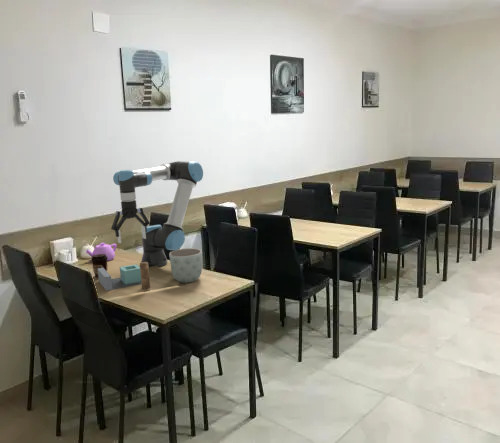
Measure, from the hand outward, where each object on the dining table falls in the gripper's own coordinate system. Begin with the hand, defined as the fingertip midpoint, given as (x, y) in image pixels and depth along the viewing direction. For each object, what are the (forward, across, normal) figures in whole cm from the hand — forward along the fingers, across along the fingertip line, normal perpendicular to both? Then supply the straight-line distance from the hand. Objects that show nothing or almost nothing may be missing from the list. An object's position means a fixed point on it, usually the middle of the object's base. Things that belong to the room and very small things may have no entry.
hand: (132, 240), depth 253 cm
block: (+20, +4, +3) cm, 21 cm away
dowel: (+22, +3, +19) cm, 29 cm away
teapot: (+22, -2, -55) cm, 60 cm away
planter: (+22, -20, +19) cm, 36 cm away
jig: (+22, +8, +2) cm, 23 cm away
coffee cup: (+22, +13, -17) cm, 30 cm away
